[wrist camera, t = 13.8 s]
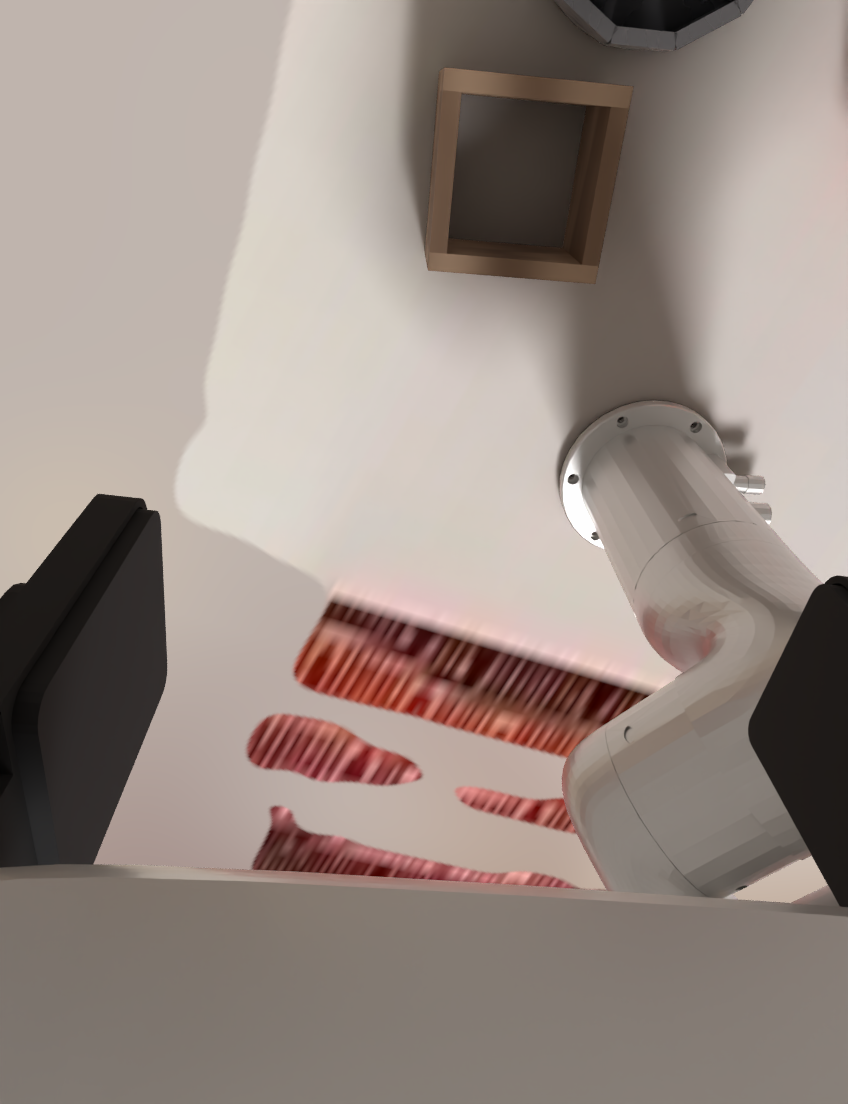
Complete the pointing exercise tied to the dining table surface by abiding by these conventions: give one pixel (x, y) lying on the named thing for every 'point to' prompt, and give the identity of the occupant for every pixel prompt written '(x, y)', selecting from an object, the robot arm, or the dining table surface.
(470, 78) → the open square wooden box
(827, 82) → the dining table surface
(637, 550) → the robot arm
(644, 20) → the serving bowl
